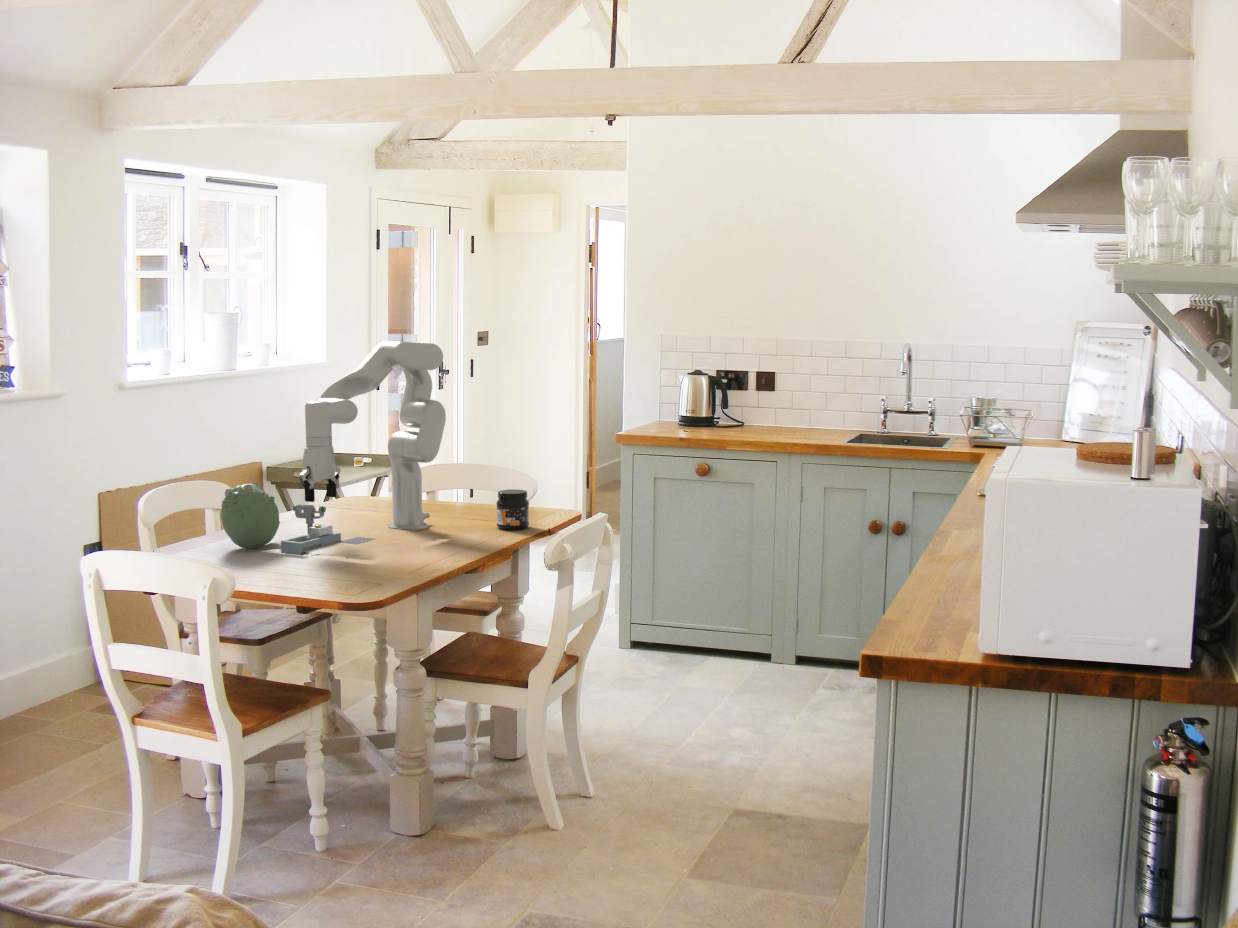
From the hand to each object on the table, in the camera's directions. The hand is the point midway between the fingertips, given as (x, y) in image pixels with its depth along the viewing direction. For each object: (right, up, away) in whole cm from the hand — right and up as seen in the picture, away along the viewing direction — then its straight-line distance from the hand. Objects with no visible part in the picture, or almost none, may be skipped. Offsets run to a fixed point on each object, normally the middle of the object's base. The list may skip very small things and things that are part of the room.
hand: (320, 499), depth 358 cm
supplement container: (+55, -11, +31) cm, 64 cm away
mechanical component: (-7, -13, +15) cm, 21 cm away
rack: (-2, -15, -2) cm, 15 cm away
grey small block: (0, -11, +1) cm, 11 cm away
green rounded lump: (-20, -15, -2) cm, 25 cm away
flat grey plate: (+10, -14, +4) cm, 18 cm away
